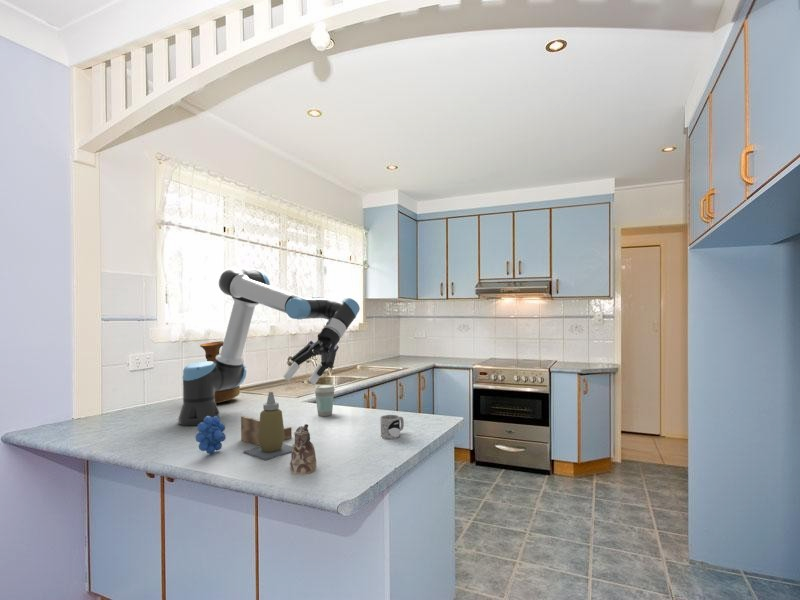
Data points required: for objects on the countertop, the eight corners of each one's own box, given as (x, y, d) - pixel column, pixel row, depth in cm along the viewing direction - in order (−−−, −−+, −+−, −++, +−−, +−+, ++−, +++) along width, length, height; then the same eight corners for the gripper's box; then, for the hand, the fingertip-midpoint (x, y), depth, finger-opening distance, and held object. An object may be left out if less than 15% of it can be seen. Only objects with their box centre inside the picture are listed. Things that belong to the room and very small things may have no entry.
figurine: (284, 472, 118) (284, 428, 119) (299, 464, 125) (299, 421, 125) (307, 475, 116) (306, 430, 116) (321, 466, 123) (320, 423, 123)
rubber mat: (243, 452, 136) (243, 451, 136) (276, 443, 145) (276, 441, 145) (265, 460, 128) (265, 458, 128) (298, 449, 138) (298, 448, 138)
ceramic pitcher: (188, 403, 213) (187, 341, 214) (227, 396, 228) (226, 339, 229) (207, 408, 200) (207, 343, 201) (247, 400, 216) (246, 340, 216)
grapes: (208, 461, 128) (207, 420, 129) (190, 459, 131) (189, 419, 131) (235, 449, 139) (235, 411, 140) (218, 447, 142) (218, 410, 142)
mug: (390, 440, 146) (390, 420, 146) (376, 436, 151) (376, 417, 151) (410, 433, 153) (410, 414, 154) (396, 430, 158) (396, 412, 158)
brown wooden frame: (241, 439, 150) (241, 416, 150) (271, 431, 159) (271, 409, 159) (261, 446, 142) (260, 421, 142) (291, 437, 151) (291, 414, 152)
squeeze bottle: (277, 454, 132) (276, 394, 132) (253, 453, 134) (252, 394, 134) (289, 446, 140) (288, 389, 140) (266, 445, 142) (265, 389, 142)
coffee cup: (318, 412, 189) (318, 384, 189) (337, 412, 188) (337, 384, 188) (311, 417, 180) (311, 387, 181) (331, 417, 179) (331, 388, 179)
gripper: (361, 341, 152) (329, 391, 140) (315, 339, 168) (282, 383, 156) (350, 327, 148) (316, 377, 136) (304, 326, 164) (269, 370, 152)
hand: (298, 380), depth 146 cm, fingers open, 13 cm apart
